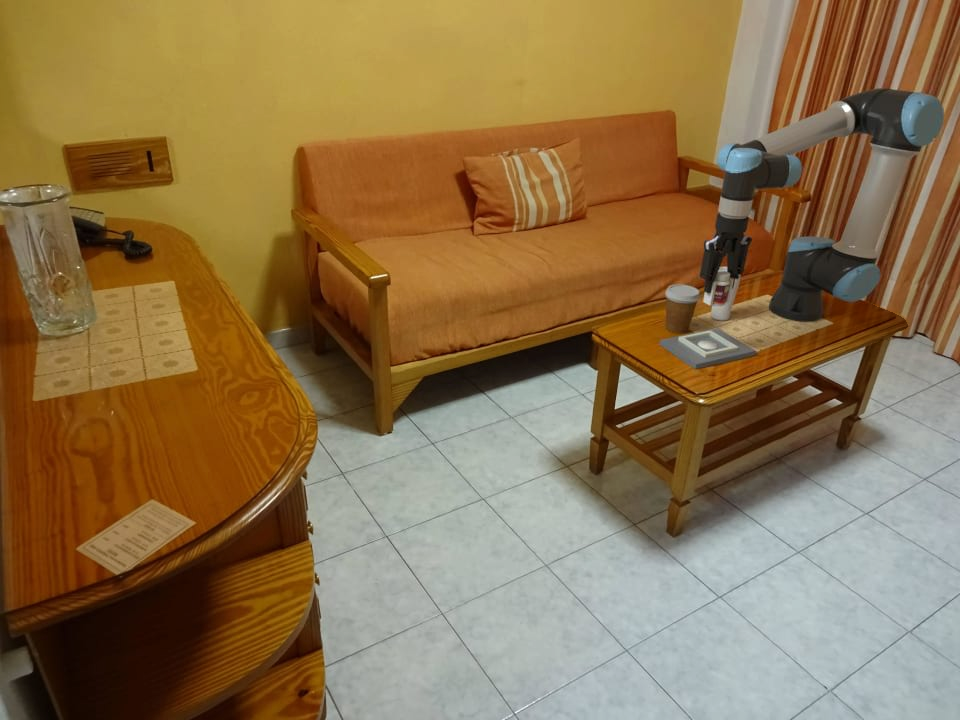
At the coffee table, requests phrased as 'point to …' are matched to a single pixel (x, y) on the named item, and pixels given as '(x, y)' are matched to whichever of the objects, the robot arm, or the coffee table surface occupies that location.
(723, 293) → the pill bottle
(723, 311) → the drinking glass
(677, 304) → the disposable coffee cup
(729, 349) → the socket plate
